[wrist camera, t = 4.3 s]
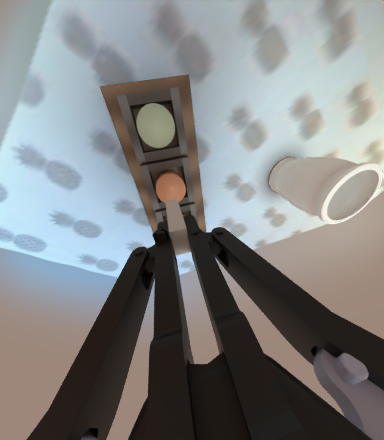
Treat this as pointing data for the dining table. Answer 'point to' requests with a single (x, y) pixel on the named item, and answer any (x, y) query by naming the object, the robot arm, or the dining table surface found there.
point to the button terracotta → (170, 187)
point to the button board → (159, 157)
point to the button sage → (155, 125)
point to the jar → (326, 186)
